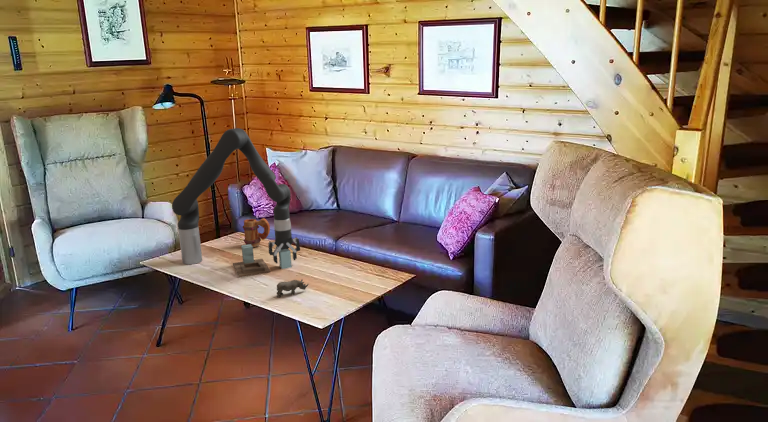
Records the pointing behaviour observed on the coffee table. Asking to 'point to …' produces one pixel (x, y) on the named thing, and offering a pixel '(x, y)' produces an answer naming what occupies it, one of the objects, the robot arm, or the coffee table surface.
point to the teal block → (285, 258)
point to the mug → (255, 231)
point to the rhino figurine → (290, 286)
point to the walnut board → (250, 263)
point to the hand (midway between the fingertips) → (285, 261)
